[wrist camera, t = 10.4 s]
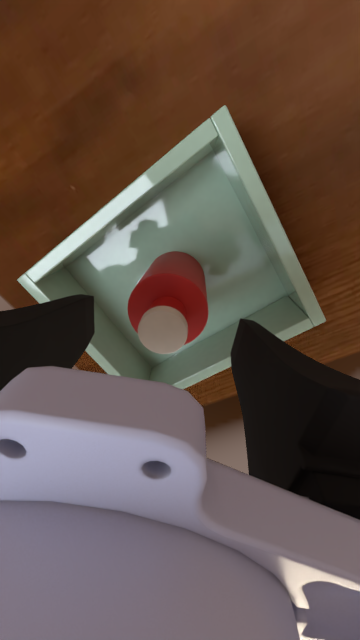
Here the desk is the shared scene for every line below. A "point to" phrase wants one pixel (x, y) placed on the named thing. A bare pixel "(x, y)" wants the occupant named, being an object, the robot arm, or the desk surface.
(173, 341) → the bottle
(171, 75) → the desk surface
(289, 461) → the robot arm
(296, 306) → the tray
